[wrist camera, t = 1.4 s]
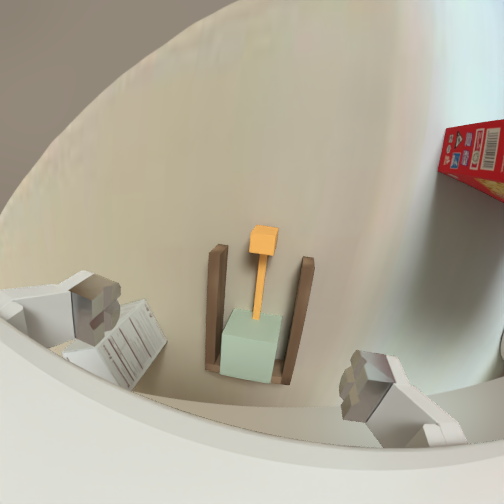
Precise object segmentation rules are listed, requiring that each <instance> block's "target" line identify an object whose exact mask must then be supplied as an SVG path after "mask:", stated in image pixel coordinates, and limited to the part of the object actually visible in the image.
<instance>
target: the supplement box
mask: <svg viewBox="0 0 504 504" xmlns="http://www.w3.org/2000/svg"><path fill="white" fill-rule="evenodd" d="M166 343H167V340H166V338H165V336H164V334H163V332H162V331H161V329H160V327H159V325H158V323H157V321H156V319H155V317H154V315H153V313H152V311H151V309H150V307H149V306H148V304H147V302H146V300H145V299H143V300H139V301H135V302H132V303H129V304H125V305H122V306H120V316H119V320H118V322H117V324H116V326H115V327H114V328H113V329H112V330H110V331H106V332H105V337H104V338H103V339H102V340H101V341H100V342H99V343H98V344H97V345H96V346H95V347H94V346H92V345H89V344H87V343H85V342H83V341H81V340H78V339H76V340H74V341H73V342H72V343H71V344H70V345H69V346H68V347H67V348H66V349H64V350H63V351H62V355H63V357H64V358H65V359H66V360H68V361H70V362H72V363H74V364H76V365H77V366H79V367H81V368H83V369H85V370H87V371H89V372H91V373H93V374H95V375H97V376H99V377H101V378H103V379H105V380H107V381H109V382H112V383H114V384H116V385H118V386H120V387H123V388H125V389H127V390H129V391H132V390H133V389H134V387H135V386H136V384H137V383H138V382H139V380H140V379H141V377H142V376H143V375H144V373H145V372H146V371H147V369H148V368H149V366H150V365H151V364H152V362H153V361H154V359H155V358H156V357H157V355H158V354H159V353H160V351H161V350H162V348H163V347H164V346H165V344H166Z"/></svg>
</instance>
